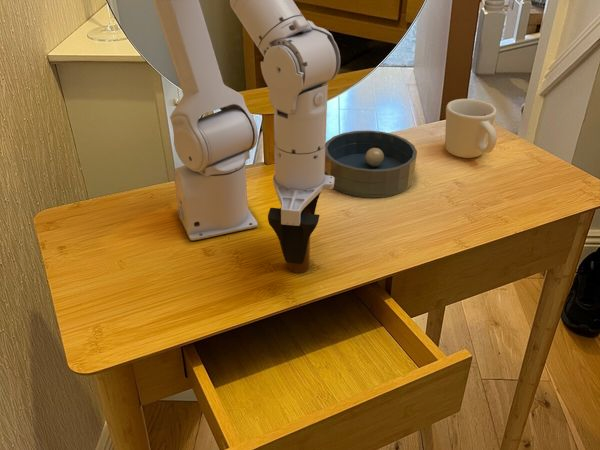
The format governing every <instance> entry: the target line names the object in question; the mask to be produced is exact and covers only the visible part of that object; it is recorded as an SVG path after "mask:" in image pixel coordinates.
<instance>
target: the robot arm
mask: <svg viewBox="0 0 600 450" xmlns="http://www.w3.org/2000/svg"><path fill="white" fill-rule="evenodd" d="M153 4H154V7H155V10H156V13H157V17H158V20H159V22H160V23H159V24H160V26H161V29H162V32H163V34H164V39H165V42H166V45H167V48H168V51H169V53H170V57H171V60H172V64H173V67H174V70H175V73H176V76H177V79H178V82H179V85H180V89H181V92H182V96H181V98H180V100H179V101H178V103H177V104H176V106H175V107H174V109H173V110H172V112H171V114H170V116H169V119H170V122H171V126H172V130H173V131H172V132H173V147H174V149H175V153H176V155H177V157H178V159H179V160H180V162H181V163H182V164H183V165H182V166H179V167H176V168H174V171H173V177H174V179H173V180H174V188H175V194H176V204H177V215H178V217H179V220H180V221H181V224H182V226H183V228H184V230H185V232H186V234H187V237H188V238H189V240H190V241H197V240H202V239H207V238H208V239H209V238H213V237H217V236H221V235H225V234H231V233H235V232H240V231H245V230H250V229H254V228H257V227H258V225H259V223H258V221H257V219H256V218H255V217H254V215H253V213H252V212H251V210H250V209H249V206H248V187H247V186H248V185H247V166H246V162H247V161H248V160H249V159H251V158H250V157H251V156H250V155H251V153H250V151H251V150H253V149H254V148H255V147H256V146H257V144H258V139H259V138H258V137H259V131H258V126H257V123H256V120H255V119H254V116H253V115H252V114H251V112H250V110H249V109H248V107H247V104H246V101H245V98H244V95H243V94H241V93H240V92H238V91H236V90H234V89H232V88H231V87H229V86H227V85H226V84H225V83H224V81H223V77H222V73H221V71H220V67H219V63H218V60H217V57H216V54H215V53H216V52H215V50H214V47H213V43H212V40H211V37H210V33H209V31H208V26H207V23H206V20H205V16H204V13H203V10H202V7H201V3H200V0H153ZM229 6H230V8H231V9H232V11H233V13H234V14H235V15H236V17H237V18H238V20H239V21H240V23H241V24H242V26H243V28H244V29H245V31H246V32H247V33H248V35H249V37H250V38H251V40H252V41H253V42H254V44H255V46H256V47H257V49H258V51H259V52H260V53H261V55H262V57H263V61H260V70H261V74H262V77H263V80H264V82H265V84H266V86H267V89H268V99H269V103H271V104H270V106H271V108H273V130H274V131H273V132H274V133H273V135H274V137H273V138H274V139H273V140H274V145H273V146H274V149H273V150H274V174H273V176H272V184H273V188H274V191H275V193H276V196H277V198H278V201H279V204H280V207H281V208H279V207H269V211H268V213H267V222H268V225H269V226H270V227H271V228H272V230H273V231H274V233H275V234H276V237H277V239H278V241H279V245H280V248H281V252H282V255H283V258H284V261H285V263H288V264H289V263H296V264H303V261H304V258H305V255H306V250H307V245H308V241H309V238H310V239H311V235H312V234H313V232H314V231H315V229H316V228H317V226H318V223H319V220H320V216H321V215H320V214H315V213H316V209H317V204H318V201H319V197H320V195H321V193H322V191H323V190H331V189H334V188H333V187H334V182H335V178H334V177H333V176H328V173H327V172H326V171H325V147H326V142H327V115H328V113H327V112H328V92H329V91H328V90H329V89H328V88H329V84H328V83H329V82H331V81H333V80H334V79H335V78H336V77H337V76H338V73H339V71H340V68H341V54H340V53H341V52H340V49H339V47H338V44H337V42H336V40H335V39H334V36H333V34H332V33H331V32H329V30H327V29H326V28H323V27H320V26H317V25H316V24H315V23H314V22H313V21H312V20H307V19H306V18H305V16H304V15H303V13H302V12H301V10H300V9H299V8H298V6H297V4H296V2H295V1H294V0H229ZM216 110H219V111H216ZM214 111H215V112H214ZM213 112H214V113H213ZM209 113H211V114H209ZM205 114H207V115H205ZM304 208H307V209H308V210H309V211H310V214H304V210H303V209H304ZM302 210H303V211H302Z"/></svg>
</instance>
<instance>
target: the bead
mask: <svg viewBox="0 0 600 450" xmlns="http://www.w3.org/2000/svg"><path fill="white" fill-rule="evenodd" d="M365 160H366V162H367V164H368V165H370V166H372V167H377V166H379V165H381V164H382V162H383V161H384V154H383V152H382V151H381V150H380V149H378V148H371V149H369V150H368V151H367V153H366V155H365Z"/></svg>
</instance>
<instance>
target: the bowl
mask: <svg viewBox="0 0 600 450" xmlns="http://www.w3.org/2000/svg"><path fill="white" fill-rule="evenodd" d="M371 148H378V149H380V150H381V151H382V152H383V154H384V161H383V162H382V164H381V165H379V166H377V167H372V166H370V165H368V164H367V162H366V160H365V155H366V153H367V151H368V150H369V149H371ZM417 157H418V150H417V149H416V147H415V144H413V143H412V142H410V141H409V140H408V139H407V138H404V137H401V136H399V135H397V134H394V133H390V132H386V131H380V130H379V131H378V130H353V131H348V132H342V133H339V134H337V135H334V136H332V137H331V138H329V139H328V140H326V147H325V171H326V172H327V173H328V176H333V177H334V178H335V182H334V187H333V188H332V189H334V190H336V191H338V192H340V193H342V194H345V195H349V196H352V197H358V198H367V199H380V198H388V197H392V196H397V195H399V194H401V193H403V192H405V191H407V190H408V189H409V188H410V187H412V185H413V183H414V182H415V181H414V180H415V175H416V167H417V166H416V165H417Z"/></svg>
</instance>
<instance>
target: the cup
mask: <svg viewBox="0 0 600 450" xmlns="http://www.w3.org/2000/svg"><path fill="white" fill-rule="evenodd" d="M496 117H497V107H495V106H494V105H493V104H492V103H489V102H487V101H484V100H481V99H477V98H476V99H474V98H459V99H454V100H451V101H449V102H448V103H447V105H446V107H445V130H444V132H445V134H444V143H445V149H446V150H447V152H448V153H450V154H451V155H453V156H454V157H459V158H463V159H473V158H477V157H480V156H482V155H483V154H490V153H491V152H492V151H493V150H494V149H495V147H496V144H497V139H498V134H497V130H496V128H495V127H494V122H495V120H496Z"/></svg>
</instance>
